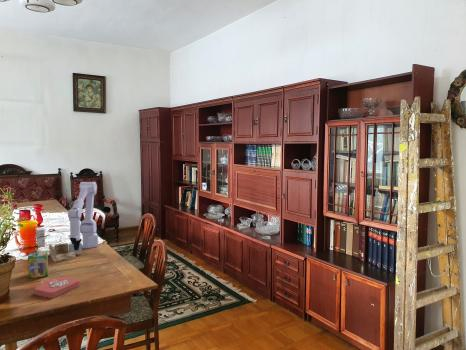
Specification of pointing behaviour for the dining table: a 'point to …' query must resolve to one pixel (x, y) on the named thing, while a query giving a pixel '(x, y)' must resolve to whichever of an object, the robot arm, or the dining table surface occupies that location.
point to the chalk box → (37, 264)
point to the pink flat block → (56, 287)
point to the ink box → (40, 237)
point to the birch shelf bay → (61, 256)
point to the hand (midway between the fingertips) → (75, 249)
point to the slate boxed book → (71, 248)
